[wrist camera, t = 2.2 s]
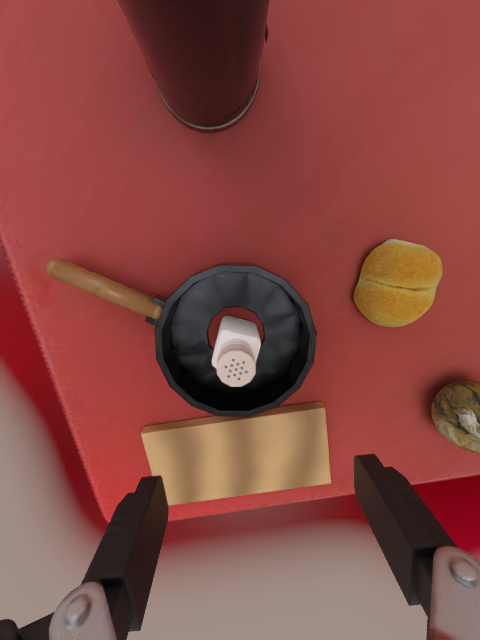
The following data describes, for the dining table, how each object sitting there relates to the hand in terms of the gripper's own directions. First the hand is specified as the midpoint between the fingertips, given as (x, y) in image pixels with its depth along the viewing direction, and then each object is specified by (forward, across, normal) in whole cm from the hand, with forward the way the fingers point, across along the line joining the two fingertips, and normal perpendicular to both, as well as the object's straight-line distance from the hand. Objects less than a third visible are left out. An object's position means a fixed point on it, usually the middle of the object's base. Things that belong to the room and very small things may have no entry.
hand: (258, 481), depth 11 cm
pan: (+20, +6, -3) cm, 21 cm away
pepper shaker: (+20, +1, 0) cm, 20 cm away
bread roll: (+20, -17, -4) cm, 27 cm away
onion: (+20, -24, +11) cm, 34 cm away
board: (+20, +2, +15) cm, 26 cm away
